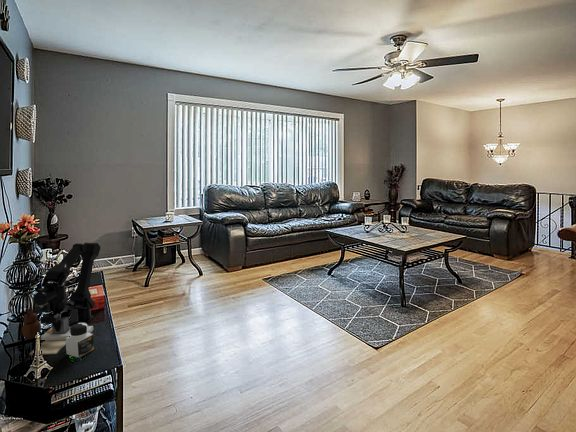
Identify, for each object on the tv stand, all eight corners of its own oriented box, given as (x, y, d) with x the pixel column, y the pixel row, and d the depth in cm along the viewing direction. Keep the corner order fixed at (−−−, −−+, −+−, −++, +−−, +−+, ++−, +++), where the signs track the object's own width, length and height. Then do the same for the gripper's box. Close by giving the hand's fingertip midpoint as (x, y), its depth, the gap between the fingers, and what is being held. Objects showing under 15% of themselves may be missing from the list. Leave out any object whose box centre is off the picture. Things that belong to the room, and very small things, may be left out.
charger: (57, 333, 157) (56, 313, 155) (69, 333, 157) (67, 313, 156) (52, 337, 153) (51, 317, 151) (64, 337, 153) (63, 317, 152)
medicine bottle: (78, 358, 137) (76, 330, 136) (66, 354, 140) (64, 327, 138) (94, 349, 144) (92, 322, 142) (82, 346, 146) (80, 319, 145)
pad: (43, 342, 148) (43, 341, 148) (68, 341, 150) (68, 340, 150) (29, 355, 139) (29, 353, 139) (55, 353, 140) (55, 352, 140)
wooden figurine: (30, 342, 149) (27, 309, 146) (19, 340, 150) (16, 308, 148) (44, 334, 155) (41, 303, 153) (34, 333, 156) (31, 302, 154)
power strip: (52, 331, 159) (52, 325, 158) (93, 329, 161) (93, 324, 160) (41, 340, 150) (40, 335, 149) (84, 339, 152) (84, 333, 152)
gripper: (50, 289, 160) (52, 320, 163) (25, 305, 142) (28, 340, 144) (75, 288, 162) (77, 319, 164) (53, 304, 143) (56, 339, 146)
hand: (60, 329), depth 154 cm, fingers closed on charger, 4 cm apart
